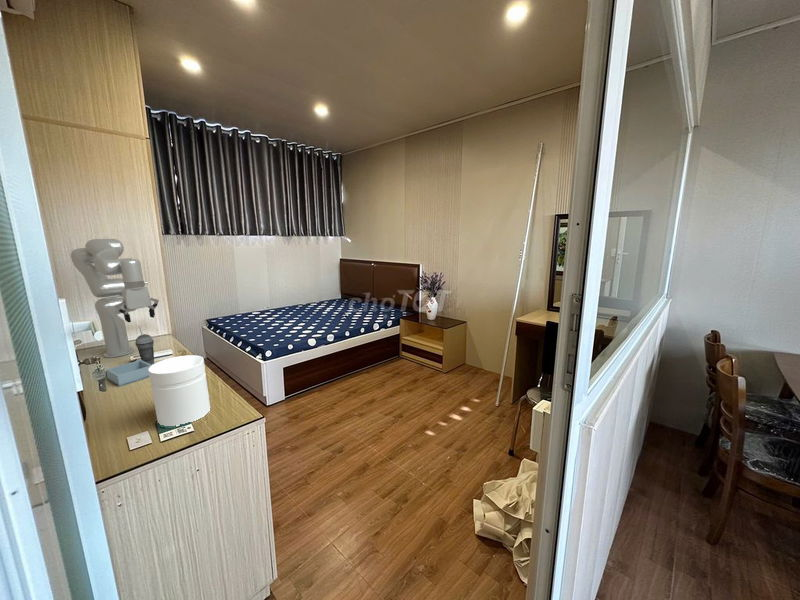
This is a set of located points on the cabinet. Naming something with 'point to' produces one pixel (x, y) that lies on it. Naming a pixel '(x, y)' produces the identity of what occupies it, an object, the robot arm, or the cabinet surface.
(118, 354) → the robot arm
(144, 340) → the beverage cup
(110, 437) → the cabinet surface
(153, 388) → the canister
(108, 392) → the cabinet surface
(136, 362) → the bin
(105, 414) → the cabinet surface
